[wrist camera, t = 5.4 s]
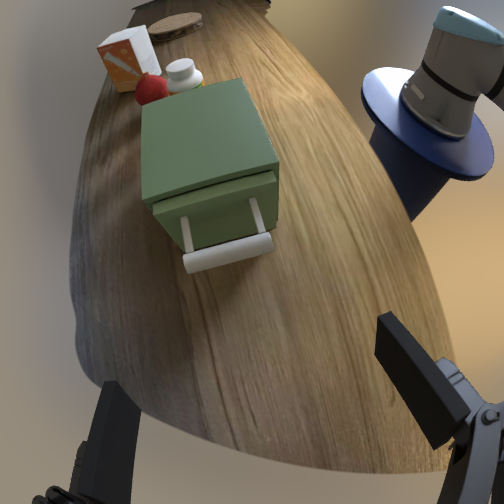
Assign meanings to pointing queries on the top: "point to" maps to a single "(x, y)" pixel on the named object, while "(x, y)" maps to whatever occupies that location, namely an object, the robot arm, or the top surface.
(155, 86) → the onion
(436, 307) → the top surface
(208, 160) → the cabinet
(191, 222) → the drawer
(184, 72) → the supplement bottle
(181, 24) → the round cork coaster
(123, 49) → the small box
